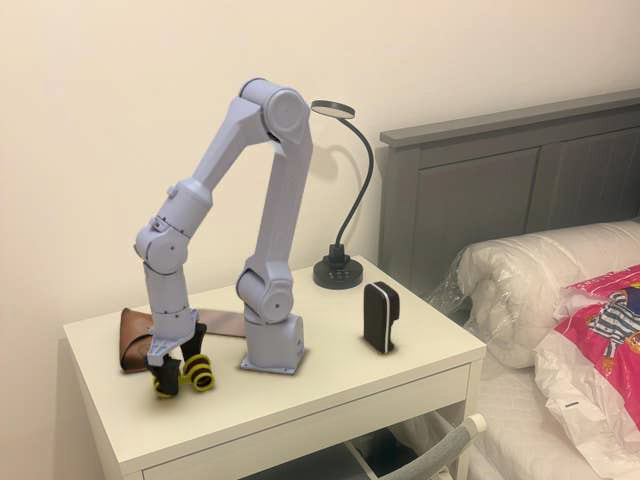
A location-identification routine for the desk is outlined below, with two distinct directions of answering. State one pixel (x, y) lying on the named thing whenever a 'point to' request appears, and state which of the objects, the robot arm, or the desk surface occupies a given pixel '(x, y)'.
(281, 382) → the desk surface
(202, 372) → the opera glasses
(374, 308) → the battery charger
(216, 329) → the copper plate
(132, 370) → the sunglasses case
